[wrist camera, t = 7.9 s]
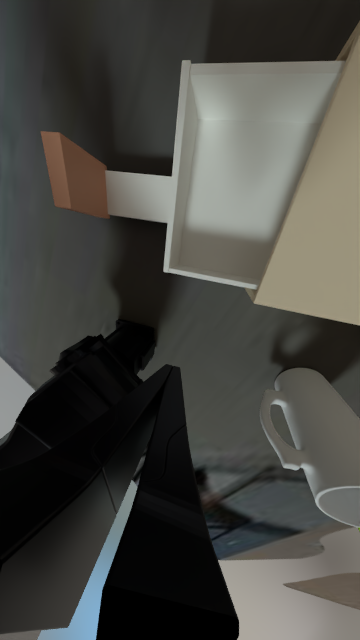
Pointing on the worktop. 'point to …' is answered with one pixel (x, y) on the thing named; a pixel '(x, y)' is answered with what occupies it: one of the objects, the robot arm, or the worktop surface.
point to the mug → (318, 440)
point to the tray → (214, 166)
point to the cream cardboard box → (324, 215)
